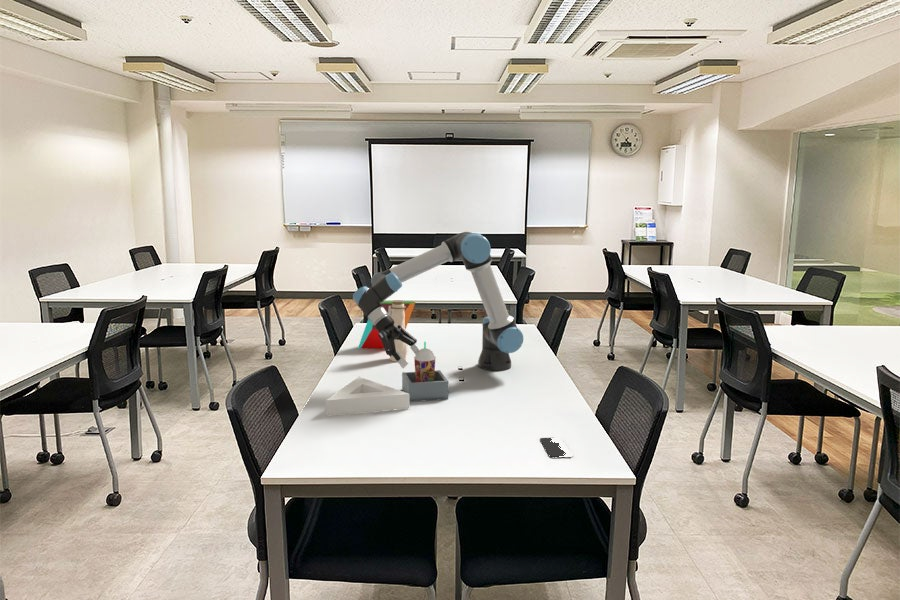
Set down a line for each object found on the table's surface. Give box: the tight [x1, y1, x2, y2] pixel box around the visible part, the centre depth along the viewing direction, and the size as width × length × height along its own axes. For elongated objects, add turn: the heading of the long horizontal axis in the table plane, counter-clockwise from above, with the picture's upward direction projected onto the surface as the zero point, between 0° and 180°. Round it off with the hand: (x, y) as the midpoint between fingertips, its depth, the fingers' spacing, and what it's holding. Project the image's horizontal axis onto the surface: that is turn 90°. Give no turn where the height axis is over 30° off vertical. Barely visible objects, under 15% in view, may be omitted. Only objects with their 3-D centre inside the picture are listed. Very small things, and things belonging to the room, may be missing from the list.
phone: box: [539, 437, 566, 458], centre depth 197 cm, size 7×1×15 cm
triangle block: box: [325, 376, 410, 417], centre depth 239 cm, size 30×26×6 cm
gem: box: [358, 300, 416, 349], centre depth 319 cm, size 15×29×24 cm, turn 93°
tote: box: [401, 369, 449, 402], centre depth 247 cm, size 15×15×7 cm
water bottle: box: [388, 299, 408, 362], centre depth 296 cm, size 10×9×28 cm
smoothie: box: [413, 341, 436, 382], centre depth 246 cm, size 8×8×20 cm
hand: (414, 362), depth 248 cm, fingers open, 13 cm apart
